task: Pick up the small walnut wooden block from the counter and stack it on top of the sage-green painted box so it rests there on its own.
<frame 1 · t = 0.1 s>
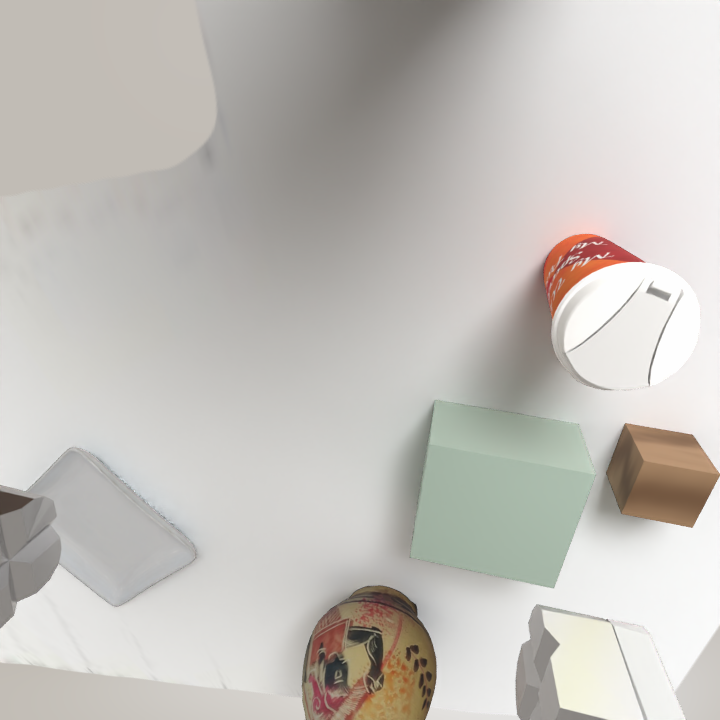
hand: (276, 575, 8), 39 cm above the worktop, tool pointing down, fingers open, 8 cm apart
ceramic jug: (375, 607, 66), on the worktop
sage box: (491, 466, 53), on the worktop
salad plate: (111, 517, 69), on the worktop
coffee cup: (579, 268, 43), on the worktop
walnut block: (647, 453, 49), on the worktop
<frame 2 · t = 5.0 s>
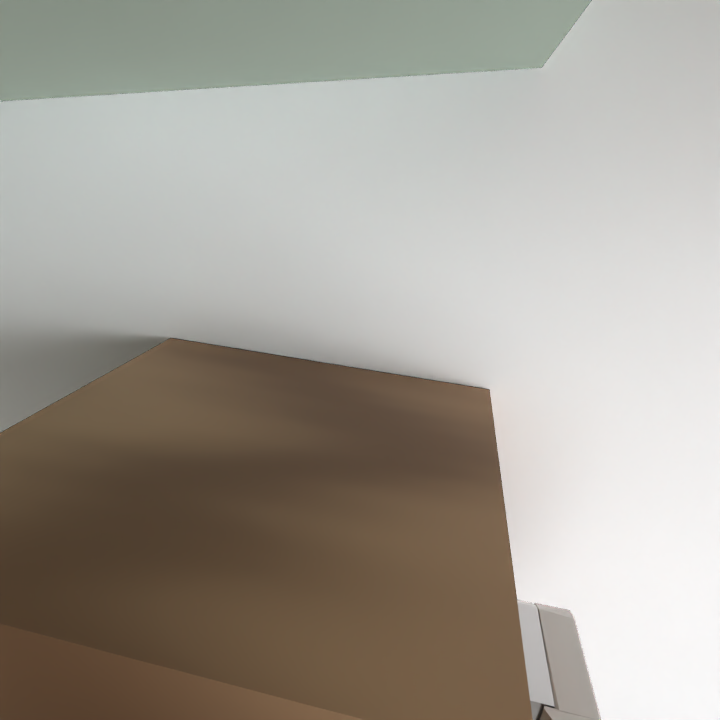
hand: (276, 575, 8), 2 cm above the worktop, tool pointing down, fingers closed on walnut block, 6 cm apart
walnut block: (312, 498, 10), on the worktop, touching gripper
when the fingers open (12 cm above the worktop, at t = 10.2 s): walnut block drops 2 cm, resting on sage box.
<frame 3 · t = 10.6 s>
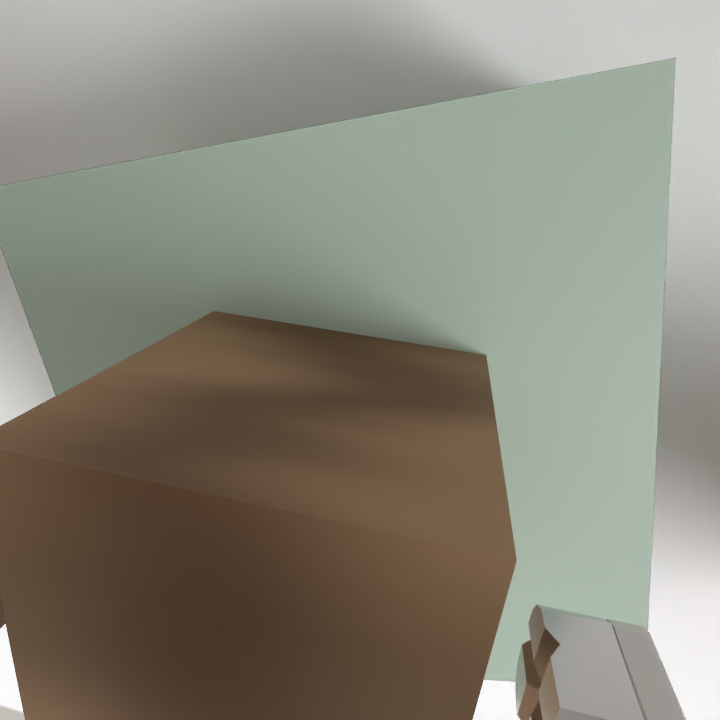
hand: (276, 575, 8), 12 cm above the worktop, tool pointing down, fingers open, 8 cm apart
sage box: (380, 347, 19), on the worktop, touching walnut block
walnut block: (332, 452, 12), point 8 cm above the worktop, touching sage box
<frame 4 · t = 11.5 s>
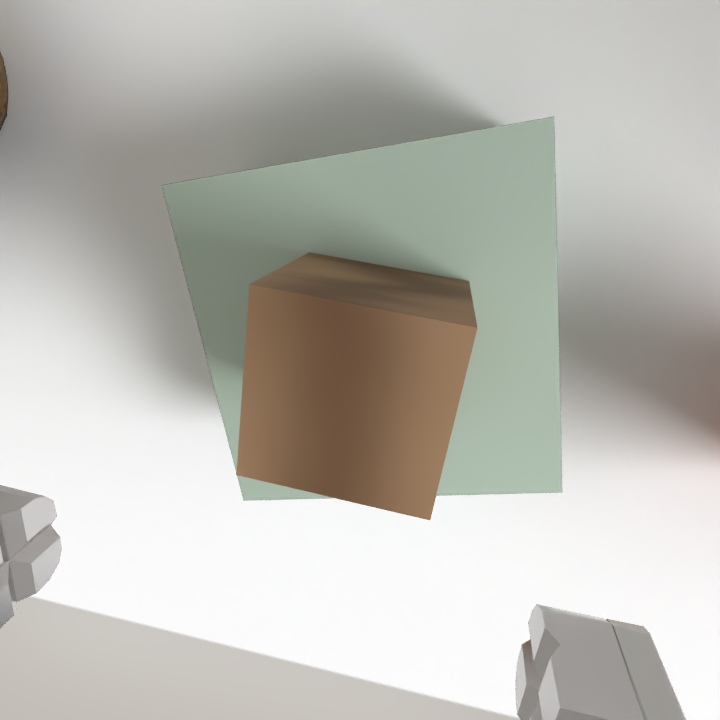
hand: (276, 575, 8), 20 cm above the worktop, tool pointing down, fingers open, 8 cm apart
sage box: (392, 298, 27), on the worktop
walnut block: (374, 342, 19), point 8 cm above the worktop
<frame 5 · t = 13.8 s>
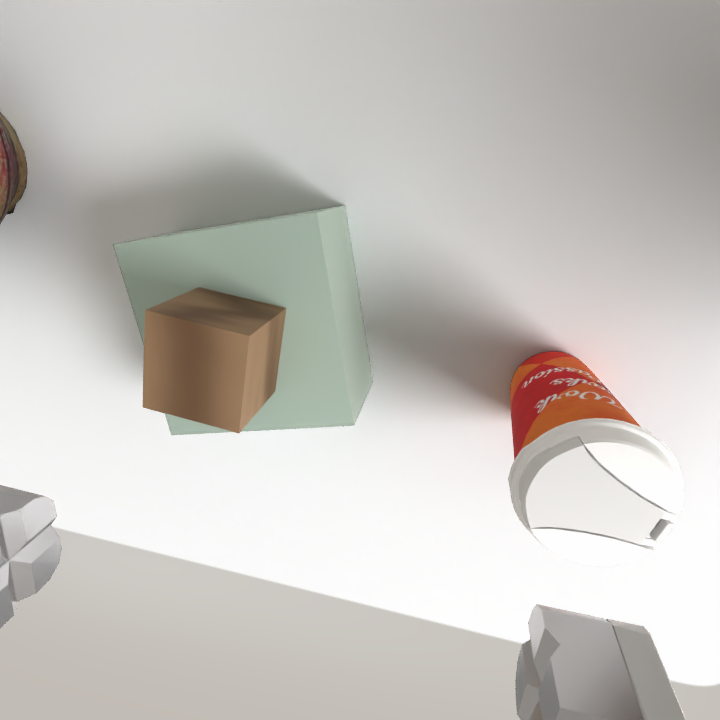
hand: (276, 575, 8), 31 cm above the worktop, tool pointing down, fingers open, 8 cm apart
sage box: (276, 307, 41), on the worktop, touching walnut block
coffee cup: (549, 386, 38), on the worktop
walnut block: (238, 340, 33), point 8 cm above the worktop, touching sage box
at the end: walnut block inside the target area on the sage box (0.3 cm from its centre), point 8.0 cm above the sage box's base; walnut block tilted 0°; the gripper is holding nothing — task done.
